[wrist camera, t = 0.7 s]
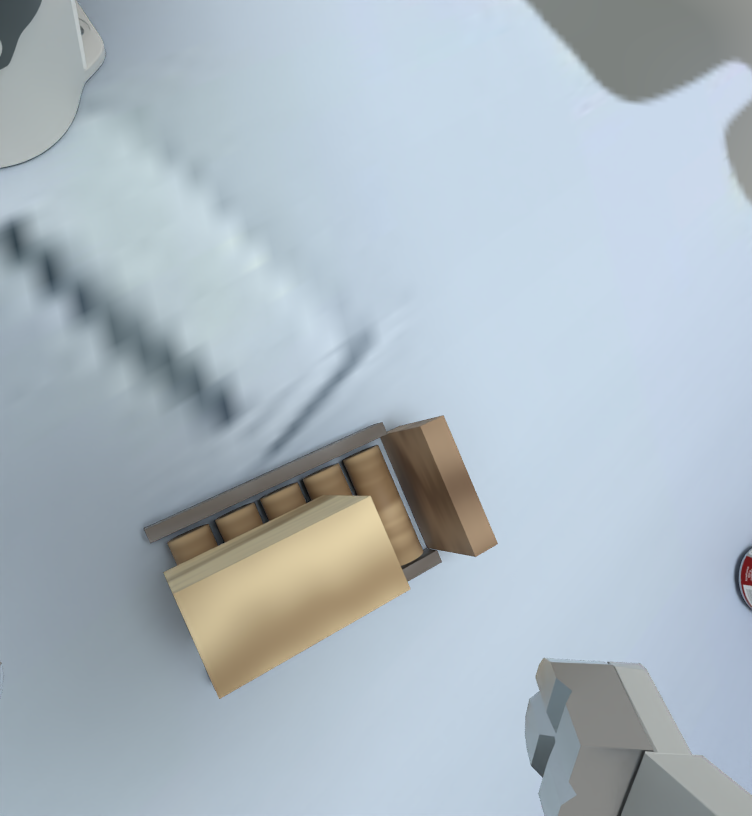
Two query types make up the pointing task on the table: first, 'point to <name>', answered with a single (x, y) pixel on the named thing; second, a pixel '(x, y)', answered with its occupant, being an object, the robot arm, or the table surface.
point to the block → (285, 586)
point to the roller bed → (366, 479)
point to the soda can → (746, 578)
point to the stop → (438, 487)
